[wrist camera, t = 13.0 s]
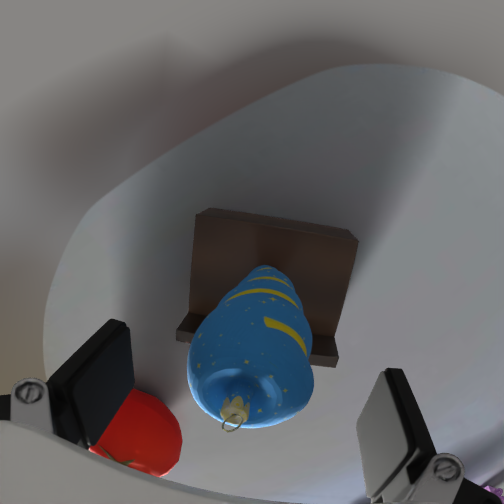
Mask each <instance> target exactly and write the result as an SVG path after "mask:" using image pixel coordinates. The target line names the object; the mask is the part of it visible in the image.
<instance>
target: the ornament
mask: <svg viewBox="0 0 504 504" xmlns="http://www.w3.org/2000/svg"><path fill="white" fill-rule="evenodd" d="M311 348H312V332H311V329H310V326H309V323H308V321H307V319H306V318H305V316H304V314H303V306H302V303H301V301H300V299H299V297H298V295H297V294H296V293H295V289H294V286H293V284H292V282H291V281H290V279H289V278H288V277H287V276H286V275H284V274H283V273H282V272H280V271H278V270H277V269H276V268H274V267H271V266H269V265H261V266H258V267H256V268H255V269H253V270H252V271H251V272H250V273H249V275H248V276H247V277H246V278H244V279H243V280H242V281H241V282H240V283H239V284H238V286H237V287H235V288H234V289H232V290H231V291H230V292H228V293H227V294H226V295H225V296H224V297H223V299H222V300H221V301H220V302H219V304H218V306H217V308H216V309H215V310H213V311H212V312H211V313H210V314H209V315H208V316H207V317H206V318H205V319H204V321H203V322H202V323H201V325H200V326H199V328H198V329H197V331H196V333H195V335H194V337H193V340H192V343H191V345H190V349H189V353H188V361H187V376H188V383H189V387H190V390H191V393H192V395H193V397H194V399H195V401H196V402H197V403H198V405H199V406H200V407H201V408H202V409H203V410H204V411H205V412H206V413H208V414H209V415H210V416H212V417H213V418H215V419H217V420H219V421H221V422H223V424H222V429H223V430H224V431H227V430H225V429H224V424H225V423H226V424H229V425H232V426H236V428H235V429H233V430H229V431H227V432H232V431H235V430H237V429H238V428H239V427H242V428H259V427H267V426H271V425H275V424H278V423H280V422H283V421H285V420H288V419H290V418H292V417H293V416H295V415H296V414H297V413H299V412H300V411H301V410H302V409H303V408H304V407H305V406H306V405H307V403H308V401H309V399H310V397H311V395H312V392H313V388H314V378H313V372H312V369H311V366H310V363H309V361H308V359H309V356H310V353H311Z"/></svg>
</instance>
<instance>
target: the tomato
mask: <svg viewBox="0 0 504 504" xmlns="http://www.w3.org/2000/svg"><path fill="white" fill-rule="evenodd" d="M181 446H182V435H181V430H180V427H179V423H178V421H177V420H176V418H175V416H174V415H173V414H172V413H171V411H170V410H169V409H168V408H167V406H166V405H165V404H164V403H163V402H161V401H160V400H159V399H157V398H156V397H155V396H152V395H150V394H147V393H144V392H142V391H139V390H137V389H134V388H133V389H132V390H131V392H130V393H129V395H128V396H127V398H126V399H125V401H124V402H123V404H122V405H121V407H120V408H119V410H118V411H117V413H116V415H115V416H114V418H113V419H112V421H111V422H110V424H109V425H108V427H107V428H106V430H105V431H104V433H103V434H102V436H101V438H100V439H99V441H98V442H97V444H96V445H95V446H90V448H89V449H90V451H91V452H93V453H95V454H97V455H100V456H102V457H105V458H107V459H109V460H112V461H114V462H117V463H119V464H122V465H124V466H127V467H130V468H133V469H135V470H138V471H141V472H144V473H147V474H150V475H153V476H156V477H161V476H164V475H166V474H168V473H169V471H170V470H171V469H172V468H173V467H174V466H175V464H176V463H177V462H178V461H179V457H180V452H181Z"/></svg>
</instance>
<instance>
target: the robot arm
mask: <svg viewBox="0 0 504 504" xmlns="http://www.w3.org/2000/svg"><path fill="white" fill-rule="evenodd" d="M134 383H135V378H134V369H133V360H132V349H131V338H130V329H129V327H127V326H126V323H125V322H122V321H118V320H115V319H110V320H108V321H107V322H106V323H105V324H104V325H103V326H102V327H101V328H100V329H99V330H98V331H97V332H96V333H95V334H94V335H93V336H92V337H90V338H89V339H88V340H87V341H86V342H85V343H84V344H83V345H82V346H81V347H80V348H79V349H78V350H77V351H76V352H75V353H74V354H73V355H72V356H71V357H70V358H69V359H68V360H67V361H66V362H65V363H64V364H63V365H62V366H61V367H60V368H59V369H58V370H57V371H56V372H55V373H54V374H53V375H52V376H51V377H50V378H49V380H48V381H47V382H46V383H45V382H43V381H42V380H40V379H37V378H25V379H22V380H20V381H18V382H17V383H16V384H15V385H14V386H13V388H12V391H11V394H9V395H0V504H301V503H287V502H276V501H267V500H259V499H252V498H245V497H239V496H233V495H228V494H222V493H217V492H213V491H208V490H204V489H199V488H195V487H191V486H187V485H183V484H180V483H176V482H173V481H169V480H166V479H162V478H159V477H156V476H153V475H150V474H147V473H144V472H141V471H138V470H135V469H133V468H130V467H127V466H124V465H122V464H119V463H117V462H114V461H112V460H109V459H107V458H105V457H102V456H100V455H97V454H95V453H93V452H90V451H88V449H89V448H90V446H95V445H96V444H97V442H98V441H99V439H100V438H101V436H102V434H103V433H104V431H105V430H106V428H107V427H108V425H109V424H110V422H111V421H112V419H113V418H114V416H115V415H116V413H117V411H118V410H119V408H120V407H121V405H122V404H123V402H124V401H125V399H126V398H127V396H128V395H129V393H130V392H131V390H132V389H133V387H134ZM356 430H357V436H358V442H359V448H360V454H361V460H362V467H363V474H364V481H365V488H366V495H367V497H368V498H371V504H502V501H501V499H500V498H499V497H498V496H497V495H495V494H494V493H492V492H490V491H488V490H486V489H484V488H482V487H480V486H478V485H477V484H475V483H473V482H471V481H469V480H467V479H465V478H464V473H465V469H464V465H463V463H462V462H461V460H460V459H459V458H458V457H456V456H455V455H452V454H449V453H440V454H437V453H436V450H435V447H434V445H433V442H432V439H431V437H430V434H429V431H428V429H427V426H426V424H425V421H424V419H423V416H422V414H421V411H420V409H419V406H418V404H417V402H416V400H415V397H414V395H413V393H412V390H411V388H410V386H409V383H408V381H407V379H406V376H405V374H404V372H403V370H402V369H398V368H387V369H386V370H385V371H382V372H381V373H380V374H379V377H378V379H377V381H376V383H375V386H374V388H373V390H372V392H371V394H370V396H369V398H368V400H367V402H366V404H365V406H364V408H363V410H362V412H361V414H360V416H359V418H358V420H357V424H356Z"/></svg>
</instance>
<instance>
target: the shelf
mask: <svg viewBox="0 0 504 504" xmlns="http://www.w3.org/2000/svg"><path fill="white" fill-rule="evenodd" d="M358 242H359V241H358V240H357V238H356V237H355V236H354V235H353V234H352V233H351V232H350V231H349V230H347V229H341V228H336V227H330V226H324V225H318V224H313V223H307V222H301V221H295V220H289V219H283V218H276V217H270V216H264V215H257V214H251V213H244V212H237V211H231V210H224V209H217V208H208V209H206V210H204V211H202V212H200V213H198V214H196V218H195V229H194V240H193V252H192V265H191V278H190V294H189V311H188V313H187V315H186V316H185V318H184V319H183V321H182V322H181V324H180V325H179V327H178V328H177V330H176V341H180V342H185V343H189V344H191V343H192V340H193V337H194V335H195V333H196V331H197V329H198V328H199V326H200V325H201V323H202V322H203V321H204V319H205V318H206V317H207V316H208V315H209V314H210V313H211V312H212V311H213V310H215V309H216V308H217V306H218V304H219V302H220V301H221V300H222V299H223V297H224V296H225V295H226V294H227V293H228V292H230V291H231V290H232V289H234V288H235V287H237V286H238V284H239V283H240V282H241V281H242V280H243V279H244V278H246V277H247V276H248V275H249V273H250V272H251V271H252V270H253V269H255V268H256V267H258V266H261V265H269V266H271V267H274V268H276V269H277V270H278V271H280V272H282V273H283V274H284V275H286V276H287V277H288V278H289V279H290V281H291V282H292V284H293V286H294V289H295V293H296V294H297V295H298V297H299V299H300V301H301V303H302V306H303V314H304V316H305V318H306V319H307V321H308V323H309V326H310V329H311V332H312V348H311V353H310V356H309V359H308V361H309V363H310V365H315V366H323V367H332V368H336V365H337V362H338V359H339V356H338V351H337V346H336V342H335V338H334V336H335V333H336V329H337V326H338V322H339V319H340V315H341V311H342V308H343V304H344V300H345V297H346V293H347V289H348V285H349V281H350V277H351V273H352V269H353V264H354V260H355V256H356V251H357V247H358Z"/></svg>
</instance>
